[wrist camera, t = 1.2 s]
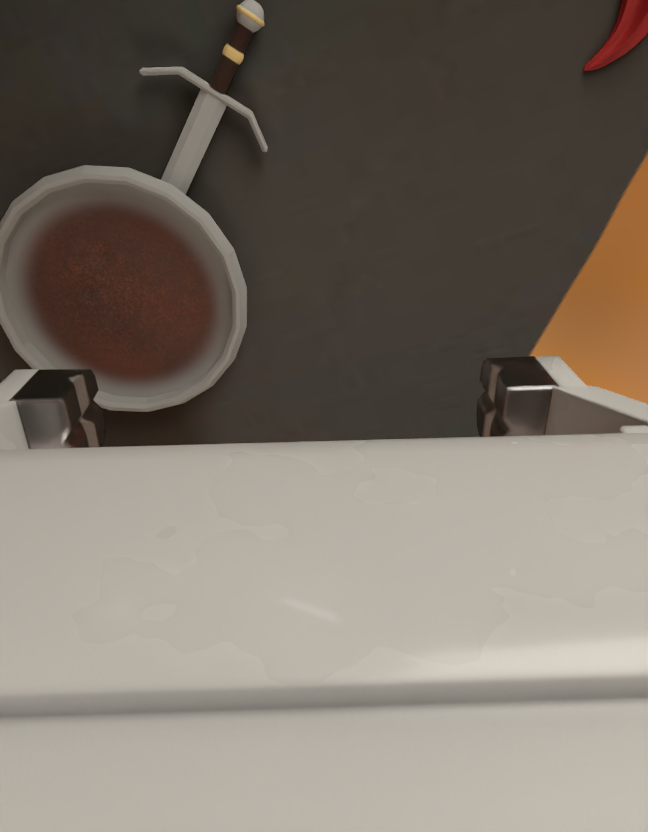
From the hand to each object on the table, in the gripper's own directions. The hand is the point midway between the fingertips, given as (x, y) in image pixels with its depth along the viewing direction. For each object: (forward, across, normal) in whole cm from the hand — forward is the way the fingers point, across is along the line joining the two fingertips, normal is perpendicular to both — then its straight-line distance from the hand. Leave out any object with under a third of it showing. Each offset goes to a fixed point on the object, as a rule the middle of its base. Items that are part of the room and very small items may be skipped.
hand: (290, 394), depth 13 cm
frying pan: (+30, +10, +2) cm, 32 cm away
